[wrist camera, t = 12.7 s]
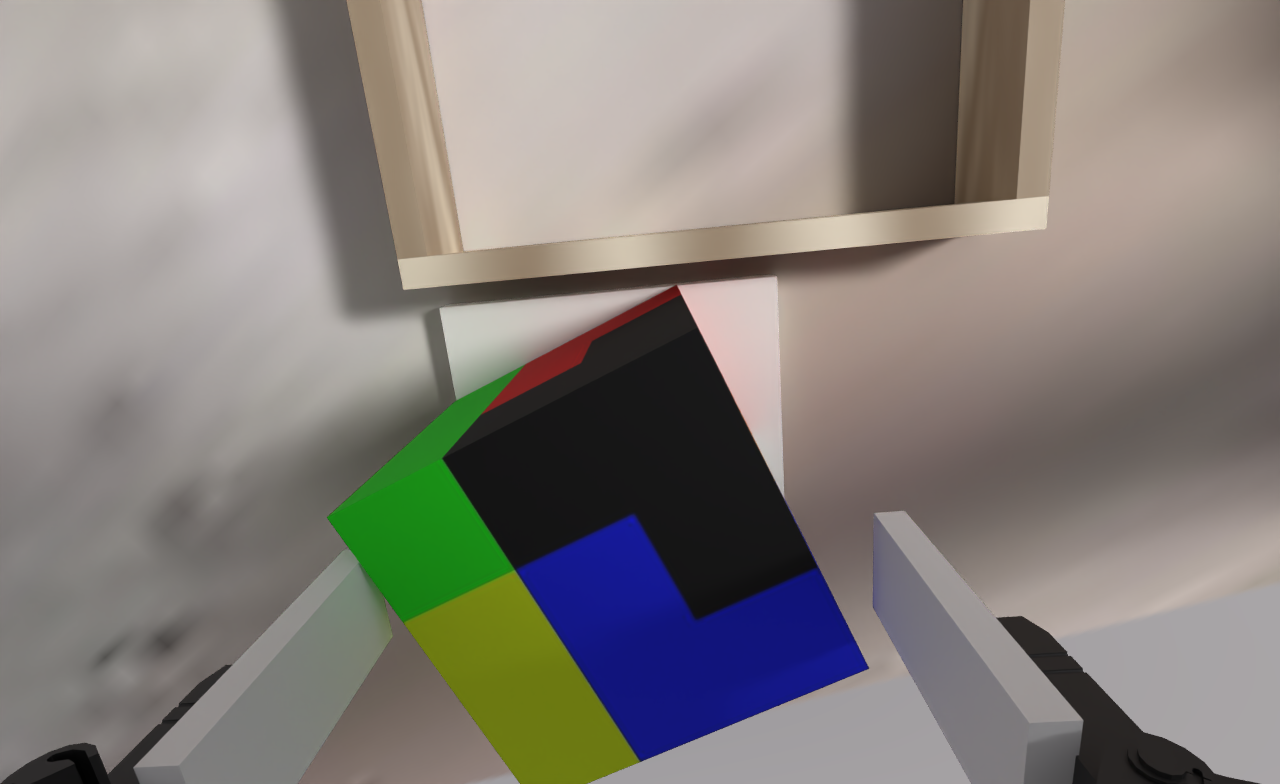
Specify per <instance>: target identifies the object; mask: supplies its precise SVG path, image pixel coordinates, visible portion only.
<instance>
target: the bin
mask: <svg viewBox="0 0 1280 784" xmlns="http://www.w3.org/2000/svg"><path fill="white" fill-rule="evenodd" d="M346 1H347V6H348V11H349V16H350V21H351V26H352V32H353V37H354V42H355V47H356V52H357V57H358V62H359V67H360V72H361V77H362V82H363V87H364V92H365V97H366V102H367V108H368V113H369V118H370V123H371V128H372V133H373V138H374V143H375V148H376V153H377V158H378V163H379V168H380V173H381V179H382V184H383V189H384V194H385V199H386V204H387V209H388V214H389V219H390V224H391V229H392V234H393V239H394V244H395V249H396V255H397V260H398V265H399V270H400V275H401V280H402V285H403V290H408V289H419V288H429V287H440V286H450V285H461V284H471V283H482V282H492V281H503V280H513V279H524V278H534V277H545V276H555V275H566V274H576V273H587V272H597V271H608V270H618V269H629V268H639V267H650V266H660V265H671V264H681V263H692V262H702V261H713V260H723V259H734V258H744V257H755V256H765V255H776V254H786V253H797V252H807V251H818V250H828V249H839V248H849V247H860V246H870V245H881V244H891V243H902V242H912V241H923V240H933V239H944V238H955V237H965V236H976V235H986V234H997V233H1007V232H1018V231H1028V230H1039V229H1046V225H1047V213H1048V201H1049V189H1050V177H1051V165H1052V152H1053V140H1054V128H1055V116H1056V104H1057V92H1058V80H1059V68H1060V56H1061V44H1062V31H1063V19H1064V7H1065V0H963V17H962V40H961V63H960V87H959V110H958V133H957V156H956V180H955V203H954V204H947V205H937V206H927V207H917V208H906V209H896V210H886V211H875V212H865V213H855V214H845V215H834V216H824V217H814V218H804V219H793V220H783V221H773V222H762V223H752V224H742V225H732V226H721V227H711V228H701V229H691V230H680V231H670V232H660V233H650V234H639V235H629V236H619V237H608V238H598V239H588V240H578V241H567V242H557V243H547V244H537V245H526V246H516V247H506V248H495V249H485V250H475V251H465V252H464V251H463V245H462V239H461V233H460V228H459V222H458V216H457V210H456V204H455V198H454V192H453V186H452V180H451V174H450V168H449V162H448V156H447V150H446V144H445V138H444V132H443V126H442V120H441V114H440V109H439V103H438V97H437V91H436V85H435V79H434V73H433V67H432V61H431V55H430V49H429V43H428V37H427V31H426V25H425V19H424V13H423V7H422V1H421V0H346Z"/></svg>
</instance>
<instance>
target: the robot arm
mask: <svg viewBox="0 0 1280 784" xmlns="http://www.w3.org/2000/svg"><path fill="white" fill-rule="evenodd" d="M873 608H874V610H875V612H876V613H877V615H878V617H879V619H880V621H881V622H882V624H883V626H884V628H885V630H886V631H887V633H888V635H889V637H890V639H891V640H892V642H893V644H894V646H895V648H896V649H897V651H898V653H899V655H900V657H901V658H902V660H903V662H904V664H905V665H906V667H907V669H908V671H909V673H910V674H911V676H912V678H913V680H914V682H915V683H916V685H917V687H918V689H919V690H920V692H921V694H922V696H923V698H924V700H925V701H926V703H927V705H928V707H929V708H930V710H931V712H932V714H933V716H934V718H935V719H936V721H937V723H938V725H939V727H940V728H941V730H942V732H943V734H944V735H945V737H946V739H947V741H948V743H949V745H950V746H951V748H952V750H953V752H954V754H955V755H956V757H957V759H958V761H959V763H960V764H961V766H962V768H963V770H964V772H965V773H966V775H967V777H968V779H969V781H970V782H971V784H1259V783H1254V782H1249V781H1244V780H1239V779H1234V778H1229V777H1225V776H1221V775H1218V774H1214V773H1213V772H1212V771H1211V769H1210V768H1209V767H1208V766H1207V765H1206V764H1205V762H1203V761H1202V760H1201V759H1199V758H1198V757H1196V756H1195V755H1194V754H1192V753H1191V752H1189V751H1188V750H1186V749H1185V748H1183V747H1181V746H1179V745H1177V744H1175V743H1173V742H1171V741H1169V740H1167V739H1165V738H1162V737H1159V736H1155V735H1151V734H1148V733H1144V732H1143V731H1141V729H1140V728H1139V727H1138V726H1137V725H1136V724H1135V723H1134V722H1133V721H1132V720H1131V719H1130V718H1129V717H1128V716H1127V715H1126V714H1125V713H1124V711H1123V710H1122V709H1121V708H1120V707H1119V706H1118V705H1117V704H1116V703H1115V702H1114V701H1113V700H1112V699H1111V698H1110V697H1109V696H1108V695H1107V694H1106V693H1105V691H1104V690H1103V689H1102V688H1101V687H1100V686H1099V685H1098V684H1097V683H1096V682H1095V681H1094V680H1093V679H1092V678H1091V677H1090V676H1089V675H1088V674H1087V673H1084V672H1083V669H1082V667H1081V666H1080V665H1079V664H1078V663H1077V662H1076V661H1075V660H1074V659H1073V658H1072V657H1071V656H1068V654H1067V651H1066V650H1064V648H1063V647H1062V646H1061V645H1060V644H1059V643H1058V642H1057V641H1056V640H1055V639H1054V638H1053V637H1052V636H1051V635H1050V634H1049V633H1048V632H1047V631H1045V630H1044V629H1042V628H1040V627H1039V626H1037V625H1035V624H1034V623H1032V622H1030V621H1029V620H1027V619H1026V618H1024V617H1022V616H1018V617H1001V618H996V617H995V616H994V615H993V614H992V613H991V611H990V610H989V609H988V608H987V607H986V606H985V604H984V603H983V602H982V601H981V600H980V598H979V597H978V596H977V595H976V594H975V593H974V591H973V590H972V589H971V588H970V587H969V586H968V584H967V583H966V582H965V581H964V580H963V579H962V577H961V576H960V575H959V574H958V573H957V572H956V570H955V569H954V568H953V567H952V566H951V564H950V563H949V562H948V561H947V560H946V559H945V557H944V556H943V555H942V554H941V553H940V552H939V550H938V549H937V548H936V547H935V546H934V545H933V543H932V542H931V541H930V540H929V539H928V537H927V536H926V535H925V534H924V533H923V532H922V530H921V529H920V528H919V527H918V526H917V525H916V523H915V522H914V521H913V520H912V519H911V518H910V516H909V515H908V514H907V513H906V512H905V511H894V512H880V513H874V548H873ZM392 637H393V635H392V630H391V626H390V622H389V618H388V614H387V610H386V605H385V601H384V597H383V594H382V593H381V592H380V590H379V589H378V587H377V586H376V585H375V583H374V582H373V581H372V579H371V578H370V576H369V575H368V574H367V572H366V571H365V569H364V568H363V567H362V565H361V564H360V563H359V561H358V560H357V558H356V557H355V556H354V554H353V553H352V552H351V550H350V549H349V550H343V551H342V552H341V553H340V554H339V555H338V556H337V557H336V558H335V559H334V561H333V562H332V563H331V564H330V565H329V566H328V567H327V568H326V569H325V570H324V571H323V572H322V573H321V574H320V575H319V576H318V577H317V578H316V579H315V580H314V581H313V582H312V583H311V584H310V585H309V586H308V587H307V588H306V589H305V591H304V592H303V593H302V594H301V595H300V596H299V597H298V598H297V599H296V600H295V601H294V602H293V603H292V604H291V605H290V606H289V607H288V608H287V609H286V610H285V611H284V612H283V613H282V614H281V615H280V616H279V617H278V618H277V619H276V621H275V622H274V623H273V624H272V625H271V626H270V627H269V628H268V629H267V630H266V631H265V632H264V633H263V634H262V635H261V636H260V637H259V638H258V639H257V640H256V641H255V642H254V643H253V644H252V645H251V646H250V647H249V648H248V649H247V651H246V652H245V653H244V654H243V655H242V656H241V657H240V658H239V659H238V660H237V661H236V662H235V663H234V664H233V665H225V666H224V667H222V668H221V669H220V670H218V671H217V672H215V673H214V674H212V675H211V676H209V677H208V678H206V679H205V680H203V681H202V682H200V683H199V684H198V685H197V686H196V687H195V688H194V689H193V690H192V691H191V692H190V693H189V694H188V695H187V696H186V697H185V698H184V699H183V700H182V701H181V702H180V703H179V707H176V708H174V709H173V710H172V711H171V712H170V713H169V714H168V715H167V716H166V717H165V718H164V719H163V720H162V724H158V725H157V726H156V727H155V728H154V729H153V730H152V731H151V732H150V733H149V734H148V735H147V736H146V737H145V738H144V739H143V740H142V741H141V742H140V743H139V744H138V745H137V746H136V747H135V748H134V749H133V750H132V751H131V752H130V753H129V754H128V755H127V756H126V757H125V758H124V759H123V760H122V761H121V762H120V763H119V764H118V765H117V766H116V767H115V768H114V769H113V770H112V771H111V772H110V773H109V774H108V775H107V772H106V770H105V767H104V765H103V763H102V760H101V758H100V756H99V753H98V751H97V748H96V746H95V745H91V744H88V743H81V744H73V745H68V746H65V747H62V748H59V749H57V750H54V751H51V752H48V753H47V754H45V755H43V756H41V757H39V758H37V759H35V760H33V761H31V762H29V763H27V764H26V765H24V766H23V767H22V768H20V769H19V770H17V771H16V772H14V773H13V774H11V775H10V776H8V777H7V778H6V779H5V780H4V781H3V782H2V783H1V784H298V782H299V781H300V779H301V778H302V776H303V775H304V773H305V771H306V770H307V768H308V767H309V765H310V764H311V762H312V761H313V759H314V757H315V756H316V754H317V753H318V751H319V750H320V748H321V747H322V745H323V744H324V742H325V740H326V739H327V737H328V736H329V734H330V733H331V731H332V730H333V728H334V727H335V725H336V723H337V722H338V720H339V719H340V717H341V716H342V714H343V713H344V711H345V709H346V708H347V706H348V705H349V703H350V702H351V700H352V699H353V697H354V696H355V694H356V692H357V691H358V689H359V688H360V686H361V685H362V683H363V682H364V680H365V678H366V677H367V675H368V674H369V672H370V671H371V669H372V668H373V666H374V665H375V663H376V661H377V660H378V658H379V657H380V655H381V654H382V652H383V651H384V649H385V648H386V646H387V644H388V643H389V641H390V640H391V638H392Z"/></svg>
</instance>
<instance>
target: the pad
mask: <svg viewBox="0 0 1280 784" xmlns="http://www.w3.org/2000/svg"><path fill="white" fill-rule="evenodd" d="M675 285H677V286H678V288H679V290H680V292H681V294H682V296H683V298H684V300H685V302H686V304H687V306H688V308H689V310H690V312H691V314H692V316H693V318H694V320H695V322H696V324H697V326H698V328H699V330H700V332H701V334H702V336H703V338H704V340H705V342H706V344H707V346H708V348H709V350H710V352H711V354H712V356H713V358H714V360H715V362H716V364H717V366H718V368H719V369H720V371H721V373H722V375H723V377H724V379H725V381H726V383H727V385H728V387H729V389H730V391H731V393H732V395H733V397H734V399H735V401H736V403H737V405H738V407H739V409H740V411H741V413H742V415H743V417H744V419H745V421H746V423H747V425H748V427H749V429H750V431H751V433H752V435H753V437H754V439H755V441H756V443H757V445H758V447H759V449H760V451H761V453H762V455H763V457H764V459H765V461H766V463H767V465H768V467H769V469H770V471H771V473H772V475H773V477H774V479H775V481H776V483H777V485H778V487H779V489H780V491H781V493H782V495H783V497H784V472H783V441H782V411H781V381H780V351H779V320H778V290H777V276H775V275H772V274H769V275H759V276H748V277H738V278H727V279H716V280H706V281H695V282H684V283H674V284H663V285H652V286H642V287H631V288H620V289H610V290H599V291H589V292H578V293H567V294H557V295H546V296H535V297H525V298H514V299H503V300H493V301H482V302H471V303H461V304H450V305H446V306H443V307H441V308H439V309H440V315H441V320H442V326H443V331H444V337H445V342H446V348H447V353H448V358H449V364H450V369H451V375H452V380H453V386H454V391H455V397H456V400H458V399H460V398H462V397H464V396H466V395H468V394H470V393H472V392H474V391H475V390H477V389H479V388H481V387H483V386H485V385H487V384H489V383H491V382H493V381H495V380H496V379H498V378H500V377H502V376H504V375H506V374H508V373H510V372H512V371H514V370H515V369H517V368H519V367H521V366H523V365H525V364H527V363H529V362H531V361H533V360H534V359H536V358H538V357H540V356H542V355H544V354H546V353H548V352H550V351H552V350H553V349H555V348H557V347H559V346H561V345H563V344H565V343H567V342H569V341H571V340H573V339H574V338H576V337H578V336H580V335H582V334H584V333H586V332H588V331H590V330H592V329H593V328H595V327H597V326H599V325H601V324H603V323H605V322H607V321H609V320H611V319H612V318H614V317H616V316H618V315H620V314H622V313H624V312H626V311H628V310H630V309H631V308H633V307H635V306H637V305H639V304H641V303H643V302H645V301H647V300H649V299H651V298H652V297H654V296H656V295H658V294H660V293H662V292H664V291H666V290H668V289H670V288H671V287H673V286H675Z"/></svg>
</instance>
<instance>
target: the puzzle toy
mask: <svg viewBox="0 0 1280 784" xmlns="http://www.w3.org/2000/svg"><path fill="white" fill-rule="evenodd" d="M327 519H328V520H329V521H330V523H331V524H332V525H333V527H334V528H335V530H336V531H337V532H338V534H339V535H340V536H341V538H342V539H343V541H344V542H345V543H346V545H347V546H348V547H349V549H350V550H351V552H352V553H353V554H354V556H355V557H356V558H357V560H358V561H359V563H360V564H361V565H362V567H363V568H364V569H365V571H366V572H367V574H368V575H369V576H370V578H371V579H372V581H373V582H374V583H375V585H376V586H377V587H378V589H379V590H380V592H381V593H382V594H383V596H384V597H385V598H386V600H387V601H388V603H389V604H390V605H391V607H392V608H393V609H394V611H395V612H396V614H397V615H398V616H399V618H400V619H401V620H402V622H403V623H404V625H405V626H406V627H407V629H408V630H409V631H410V633H411V634H412V636H413V637H414V638H415V640H416V641H417V642H418V644H419V645H420V647H421V648H422V649H423V651H424V652H425V654H426V655H427V656H428V658H429V659H430V660H431V662H432V663H433V665H434V666H435V667H436V669H437V670H438V671H439V673H440V674H441V676H442V677H443V678H444V680H445V681H446V682H447V684H448V685H449V687H450V688H451V689H452V691H453V692H454V693H455V695H456V696H457V698H458V699H459V700H460V702H461V703H462V704H463V706H464V707H465V709H466V710H467V711H468V713H469V714H470V715H471V717H472V718H473V720H474V721H475V722H476V724H477V725H478V727H479V728H480V729H481V731H482V732H483V733H484V735H485V736H486V738H487V739H488V740H489V742H490V743H491V744H492V746H493V747H494V749H495V750H496V751H497V753H498V754H499V755H500V757H501V758H502V760H503V761H504V762H505V764H506V765H507V766H508V768H509V769H510V771H511V772H512V773H513V775H514V776H515V777H516V779H517V780H518V782H519V783H520V784H587V783H590V782H592V781H595V780H597V779H599V778H602V777H605V776H607V775H609V774H612V773H614V772H617V771H619V770H622V769H624V768H627V767H629V766H632V765H634V764H636V763H639V762H641V761H644V760H646V759H648V758H651V757H654V756H656V755H658V754H661V753H663V752H666V751H668V750H671V749H673V748H676V747H678V746H681V745H683V744H685V743H688V742H690V741H693V740H695V739H698V738H700V737H703V736H705V735H708V734H710V733H712V732H715V731H717V730H720V729H722V728H725V727H727V726H729V725H732V724H734V723H737V722H739V721H742V720H744V719H747V718H749V717H752V716H754V715H757V714H759V713H761V712H764V711H766V710H769V709H771V708H774V707H776V706H779V705H781V704H784V703H786V702H788V701H791V700H793V699H796V698H798V697H801V696H803V695H806V694H808V693H811V692H813V691H815V690H818V689H820V688H823V687H825V686H828V685H830V684H833V683H835V682H837V681H840V680H842V679H845V678H847V677H850V676H852V675H855V674H857V673H860V672H862V671H864V670H867V669H869V667H868V665H867V663H866V661H865V659H864V657H863V655H862V653H861V651H860V649H859V647H858V645H857V643H856V641H855V639H854V637H853V635H852V633H851V631H850V629H849V627H848V625H847V623H846V621H845V619H844V617H843V615H842V613H841V611H840V609H839V607H838V605H837V603H836V601H835V599H834V597H833V595H832V593H831V591H830V589H829V587H828V585H827V583H826V581H825V579H824V577H823V575H822V573H821V571H820V569H819V567H818V565H817V563H816V561H815V559H814V557H813V555H812V553H811V551H810V549H809V547H808V545H807V543H806V541H805V539H804V537H803V535H802V533H801V531H800V529H799V527H798V525H797V523H796V521H795V519H794V517H793V515H792V513H791V511H790V509H789V507H788V505H787V503H786V501H785V499H784V497H783V495H782V493H781V491H780V489H779V487H778V485H777V483H776V481H775V479H774V477H773V475H772V473H771V471H770V469H769V467H768V465H767V463H766V461H765V459H764V457H763V455H762V453H761V451H760V449H759V447H758V445H757V443H756V441H755V439H754V437H753V435H752V433H751V431H750V429H749V427H748V425H747V423H746V421H745V419H744V417H743V415H742V413H741V411H740V409H739V407H738V405H737V403H736V401H735V399H734V397H733V395H732V393H731V391H730V389H729V387H728V385H727V383H726V381H725V379H724V377H723V375H722V373H721V371H720V369H719V368H718V366H717V364H716V362H715V360H714V358H713V356H712V354H711V352H710V350H709V348H708V346H707V344H706V342H705V340H704V338H703V336H702V334H701V332H700V330H699V328H698V326H697V324H696V322H695V320H694V318H693V316H692V314H691V312H690V310H689V308H688V306H687V304H686V302H685V300H684V298H683V296H682V294H681V292H680V290H679V288H678V286H677V285H675V286H673V287H671V288H670V289H668V290H666V291H664V292H662V293H660V294H658V295H656V296H654V297H652V298H651V299H649V300H647V301H645V302H643V303H641V304H639V305H637V306H635V307H633V308H631V309H630V310H628V311H626V312H624V313H622V314H620V315H618V316H616V317H614V318H612V319H611V320H609V321H607V322H605V323H603V324H601V325H599V326H597V327H595V328H593V329H592V330H590V331H588V332H586V333H584V334H582V335H580V336H578V337H576V338H574V339H573V340H571V341H569V342H567V343H565V344H563V345H561V346H559V347H557V348H555V349H553V350H552V351H550V352H548V353H546V354H544V355H542V356H540V357H538V358H536V359H534V360H533V361H531V362H529V363H527V364H525V365H523V366H521V367H519V368H517V369H515V370H514V371H512V372H510V373H508V374H506V375H504V376H502V377H500V378H498V379H496V380H495V381H493V382H491V383H489V384H487V385H485V386H483V387H481V388H479V389H477V390H475V391H474V392H472V393H470V394H468V395H466V396H464V397H462V398H460V399H458V400H456V401H455V402H454V403H453V404H452V405H450V406H449V407H448V408H447V409H446V410H445V411H444V412H443V413H442V414H440V415H439V416H438V417H437V418H436V419H435V420H434V421H433V422H432V423H430V424H429V425H428V426H427V427H426V428H425V429H424V430H423V431H422V432H421V433H419V434H418V435H417V436H416V437H415V438H414V439H413V440H412V441H411V442H409V443H408V444H407V445H406V446H405V447H404V448H403V449H402V450H401V451H400V452H398V453H397V454H396V455H395V456H394V457H393V458H392V459H391V460H390V461H388V462H387V463H386V464H385V465H384V466H383V467H382V468H381V469H380V470H379V471H377V472H376V473H375V474H374V475H373V476H372V477H371V478H370V479H369V480H367V481H366V482H365V483H364V484H363V485H362V486H361V487H360V488H359V489H357V490H356V491H355V492H354V493H353V494H352V495H351V496H350V497H349V498H348V499H346V500H345V501H344V502H343V503H342V504H341V505H340V506H339V507H338V508H336V509H335V510H334V511H333V512H332V513H331V514H330V515H329V516H328V517H327Z"/></svg>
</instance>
